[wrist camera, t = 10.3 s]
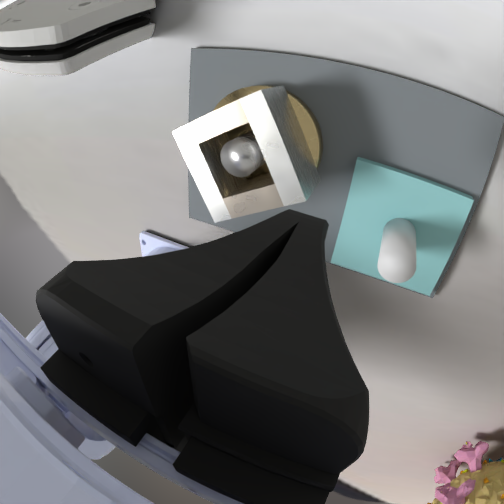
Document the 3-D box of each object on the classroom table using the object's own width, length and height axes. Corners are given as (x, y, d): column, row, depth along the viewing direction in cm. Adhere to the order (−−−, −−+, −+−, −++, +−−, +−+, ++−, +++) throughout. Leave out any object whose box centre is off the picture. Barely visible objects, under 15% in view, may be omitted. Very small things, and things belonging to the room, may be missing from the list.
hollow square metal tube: (321, 180, 17) (306, 201, 15) (238, 201, 20) (214, 222, 18) (283, 85, 15) (260, 89, 13) (202, 120, 18) (172, 132, 16)
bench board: (432, 294, 19) (432, 298, 19) (192, 215, 24) (189, 217, 24) (502, 116, 12) (505, 117, 11) (194, 48, 17) (191, 48, 17)
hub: (312, 208, 19) (294, 236, 17) (212, 181, 21) (181, 202, 19) (331, 96, 15) (316, 103, 13) (217, 79, 17) (181, 85, 15)
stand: (429, 290, 19) (429, 333, 16) (332, 257, 21) (316, 295, 18) (471, 196, 14) (486, 229, 11) (357, 156, 16) (346, 179, 13)
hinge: (173, -26, 14) (39, 23, 9) (169, 31, 18) (54, 95, 13) (50, -25, 16) (-39, 20, 11) (54, 12, 20) (-28, 61, 15)
